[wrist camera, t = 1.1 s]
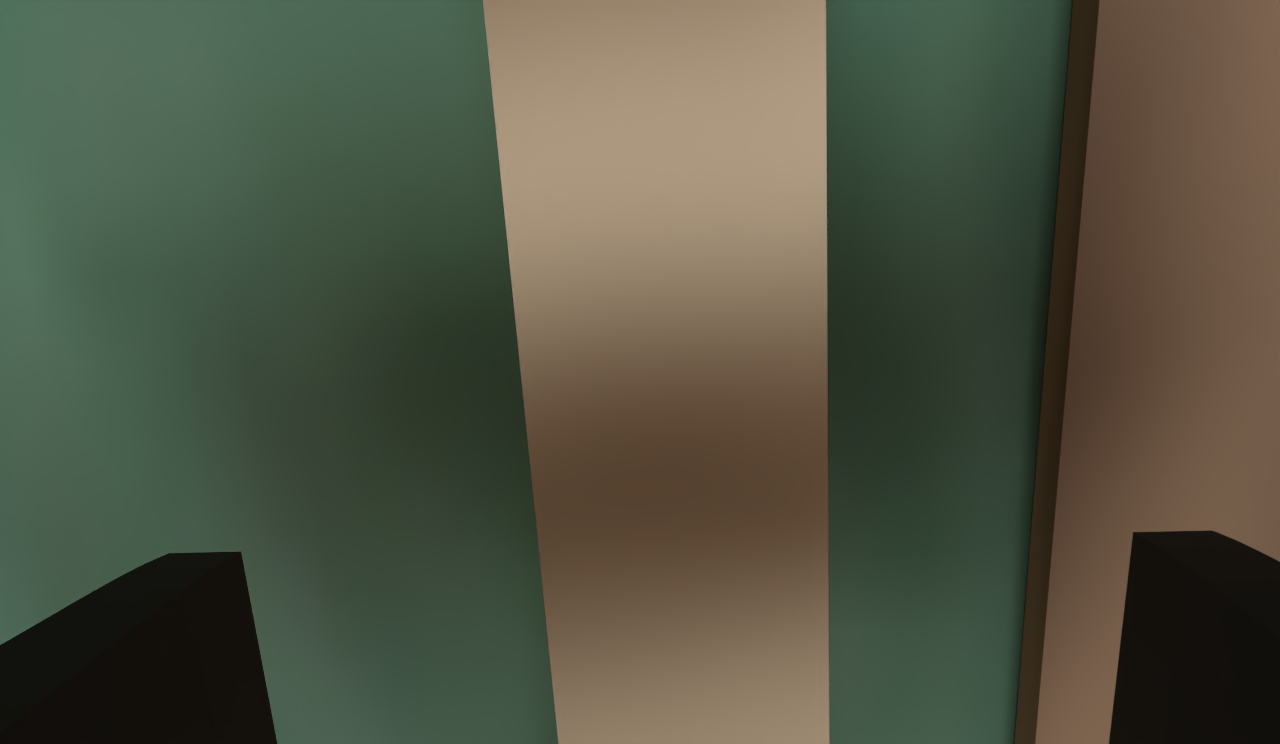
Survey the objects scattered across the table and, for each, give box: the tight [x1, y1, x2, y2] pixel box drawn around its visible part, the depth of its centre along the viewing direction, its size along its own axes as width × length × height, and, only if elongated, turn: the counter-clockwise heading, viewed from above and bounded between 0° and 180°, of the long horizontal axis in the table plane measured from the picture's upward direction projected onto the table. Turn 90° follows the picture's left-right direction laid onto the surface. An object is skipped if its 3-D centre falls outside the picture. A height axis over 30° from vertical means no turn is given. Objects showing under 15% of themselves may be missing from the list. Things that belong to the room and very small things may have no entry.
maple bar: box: [483, 0, 829, 744], centre depth 15 cm, size 20×3×5 cm, turn 3°
